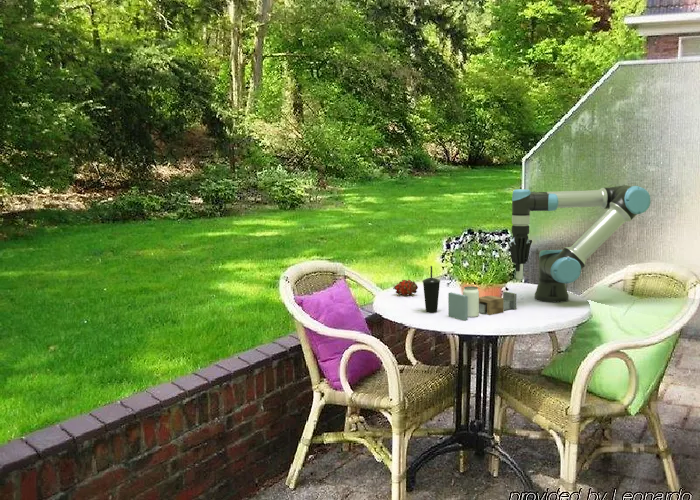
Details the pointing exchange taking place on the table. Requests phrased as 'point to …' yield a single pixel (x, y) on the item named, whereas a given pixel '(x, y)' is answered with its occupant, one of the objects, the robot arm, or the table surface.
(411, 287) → the red pine cone
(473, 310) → the can
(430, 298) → the drinking cup
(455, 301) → the end plate
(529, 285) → the table surface
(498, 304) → the tan wooden block
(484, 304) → the shaft
